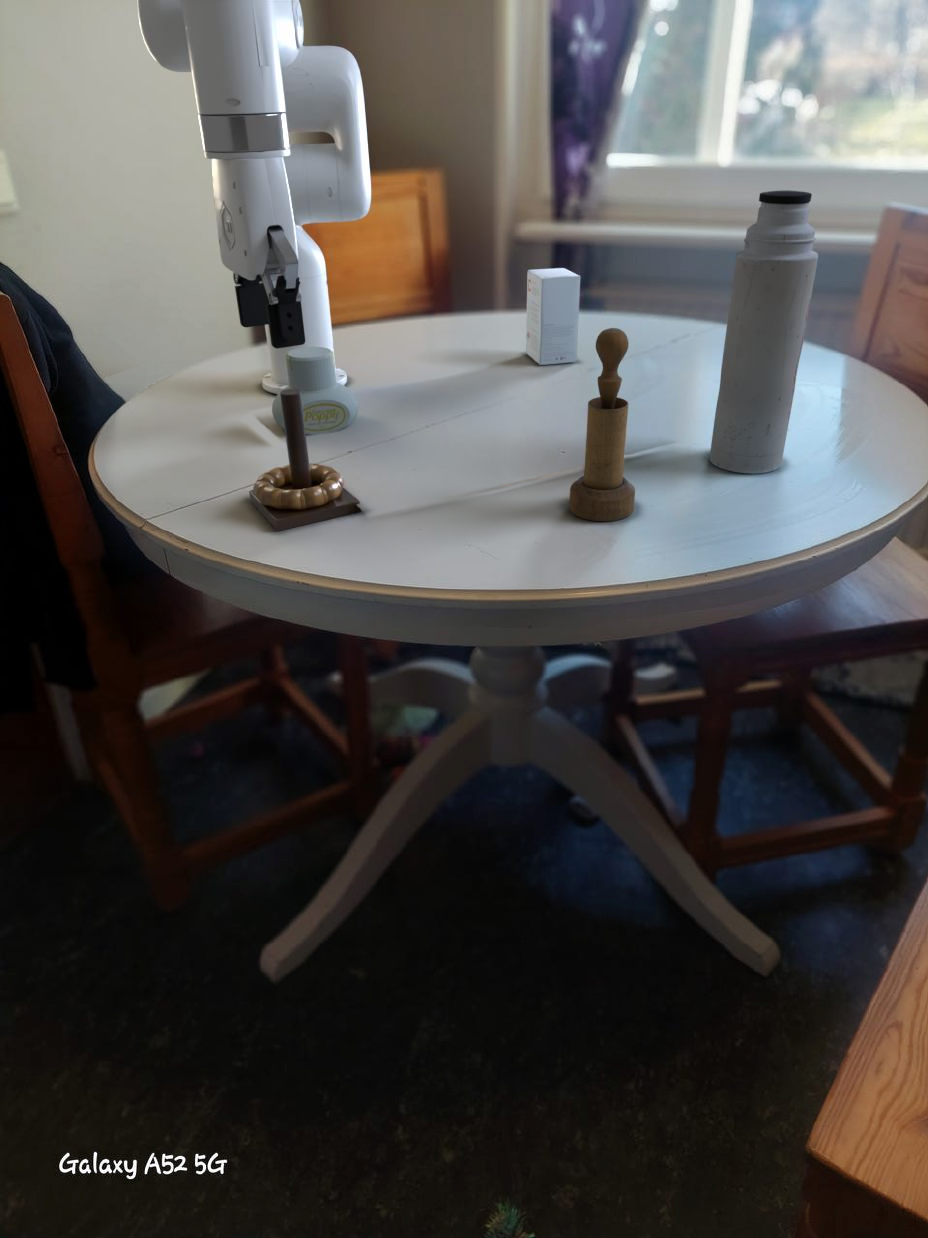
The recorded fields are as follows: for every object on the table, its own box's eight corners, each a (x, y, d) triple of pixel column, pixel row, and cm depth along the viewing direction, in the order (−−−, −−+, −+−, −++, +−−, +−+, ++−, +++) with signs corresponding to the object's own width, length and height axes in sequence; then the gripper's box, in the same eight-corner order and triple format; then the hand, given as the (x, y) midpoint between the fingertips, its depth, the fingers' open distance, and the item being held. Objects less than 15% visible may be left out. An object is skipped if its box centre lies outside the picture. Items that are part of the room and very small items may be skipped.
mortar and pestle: (592, 527, 86) (603, 340, 77) (556, 504, 91) (563, 326, 82) (646, 512, 88) (663, 331, 79) (609, 491, 93) (621, 318, 84)
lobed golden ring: (244, 489, 93) (241, 471, 92) (325, 472, 97) (323, 454, 96) (271, 520, 86) (269, 501, 85) (357, 500, 90) (356, 482, 89)
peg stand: (250, 500, 93) (232, 387, 87) (328, 483, 97) (316, 374, 91) (277, 531, 87) (260, 411, 80) (360, 511, 90) (350, 395, 84)
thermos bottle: (777, 450, 103) (823, 187, 88) (784, 475, 96) (835, 195, 82) (708, 447, 104) (742, 187, 90) (710, 471, 98) (747, 195, 83)
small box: (577, 362, 138) (581, 275, 131) (539, 365, 137) (541, 278, 130) (561, 350, 145) (564, 266, 138) (524, 353, 143) (526, 269, 137)
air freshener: (352, 416, 117) (345, 340, 112) (366, 435, 111) (359, 355, 105) (271, 426, 114) (260, 348, 109) (280, 446, 108) (269, 365, 103)
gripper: (179, 135, 82) (210, 322, 91) (232, 144, 69) (263, 361, 78) (256, 132, 85) (279, 313, 94) (321, 139, 72) (340, 348, 81)
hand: (272, 335), depth 86 cm, fingers open, 9 cm apart
